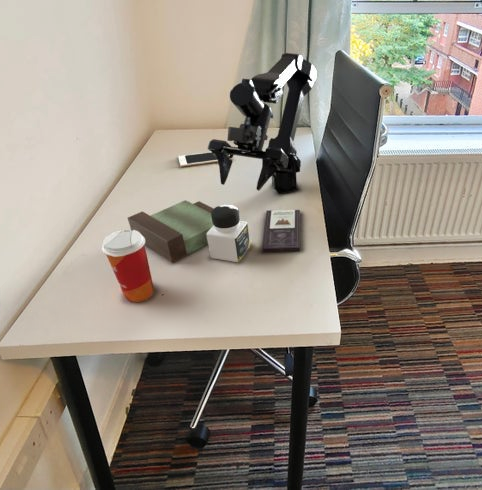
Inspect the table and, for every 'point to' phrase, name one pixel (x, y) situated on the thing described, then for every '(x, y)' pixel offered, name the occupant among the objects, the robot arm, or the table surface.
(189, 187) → the table surface
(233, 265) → the table surface
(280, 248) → the chocolate bar
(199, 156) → the cell phone
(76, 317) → the table surface
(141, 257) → the paper cup
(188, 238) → the step shelf
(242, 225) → the medicine bottle
